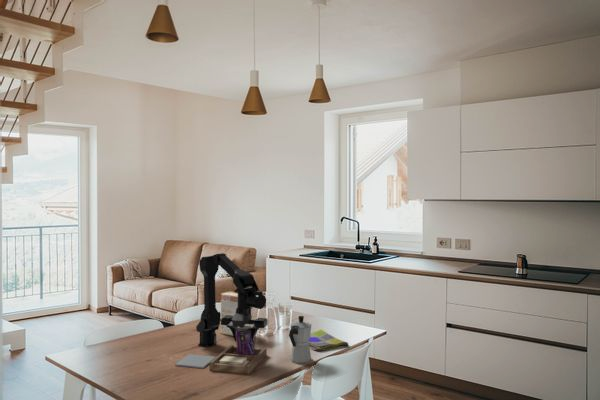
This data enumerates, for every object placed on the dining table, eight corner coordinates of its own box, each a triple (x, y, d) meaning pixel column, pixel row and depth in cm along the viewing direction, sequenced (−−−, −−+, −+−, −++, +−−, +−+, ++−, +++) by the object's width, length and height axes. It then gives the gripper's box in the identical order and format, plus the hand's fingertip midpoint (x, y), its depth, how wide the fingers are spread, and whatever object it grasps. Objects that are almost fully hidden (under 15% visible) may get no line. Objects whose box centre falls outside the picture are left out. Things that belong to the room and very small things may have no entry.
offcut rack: (209, 370, 182) (209, 362, 182) (230, 351, 203) (230, 344, 203) (248, 374, 178) (249, 366, 178) (266, 355, 200) (266, 348, 200)
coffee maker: (299, 353, 202) (299, 311, 202) (317, 357, 197) (318, 314, 197) (280, 364, 189) (280, 319, 189) (299, 368, 185) (299, 322, 184)
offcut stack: (218, 369, 184) (218, 360, 183) (223, 364, 189) (223, 355, 189) (244, 372, 181) (245, 362, 181) (250, 366, 187) (250, 357, 187)
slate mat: (175, 365, 186) (175, 364, 186) (189, 355, 198) (189, 354, 198) (203, 368, 184) (203, 366, 184) (215, 358, 195) (215, 356, 195)
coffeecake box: (253, 335, 228) (253, 294, 228) (243, 338, 222) (244, 297, 222) (229, 330, 236) (229, 291, 236) (219, 333, 230) (220, 293, 230)
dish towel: (323, 333, 234) (323, 328, 234) (350, 348, 212) (350, 341, 212) (291, 338, 226) (291, 332, 226) (316, 353, 204) (316, 347, 204)
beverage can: (248, 360, 191) (244, 330, 191) (235, 359, 195) (231, 330, 195) (259, 354, 197) (255, 325, 197) (245, 353, 201) (242, 325, 201)
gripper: (215, 307, 190) (215, 346, 190) (259, 310, 186) (259, 350, 186) (226, 301, 201) (225, 338, 201) (268, 304, 196) (267, 341, 197)
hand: (243, 342), depth 196 cm, fingers closed on beverage can, 6 cm apart
